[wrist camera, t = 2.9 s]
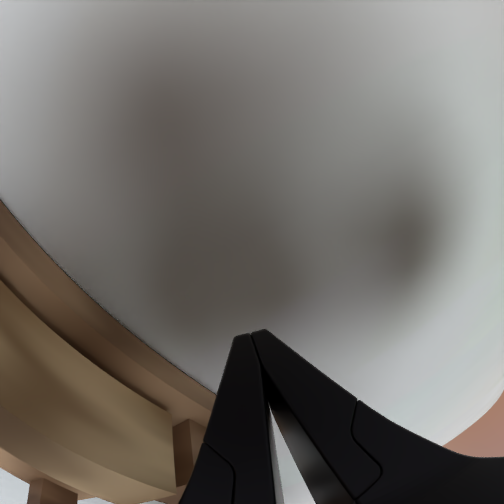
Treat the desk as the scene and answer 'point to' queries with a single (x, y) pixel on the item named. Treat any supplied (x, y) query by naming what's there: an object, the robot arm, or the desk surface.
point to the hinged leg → (78, 415)
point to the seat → (97, 359)
